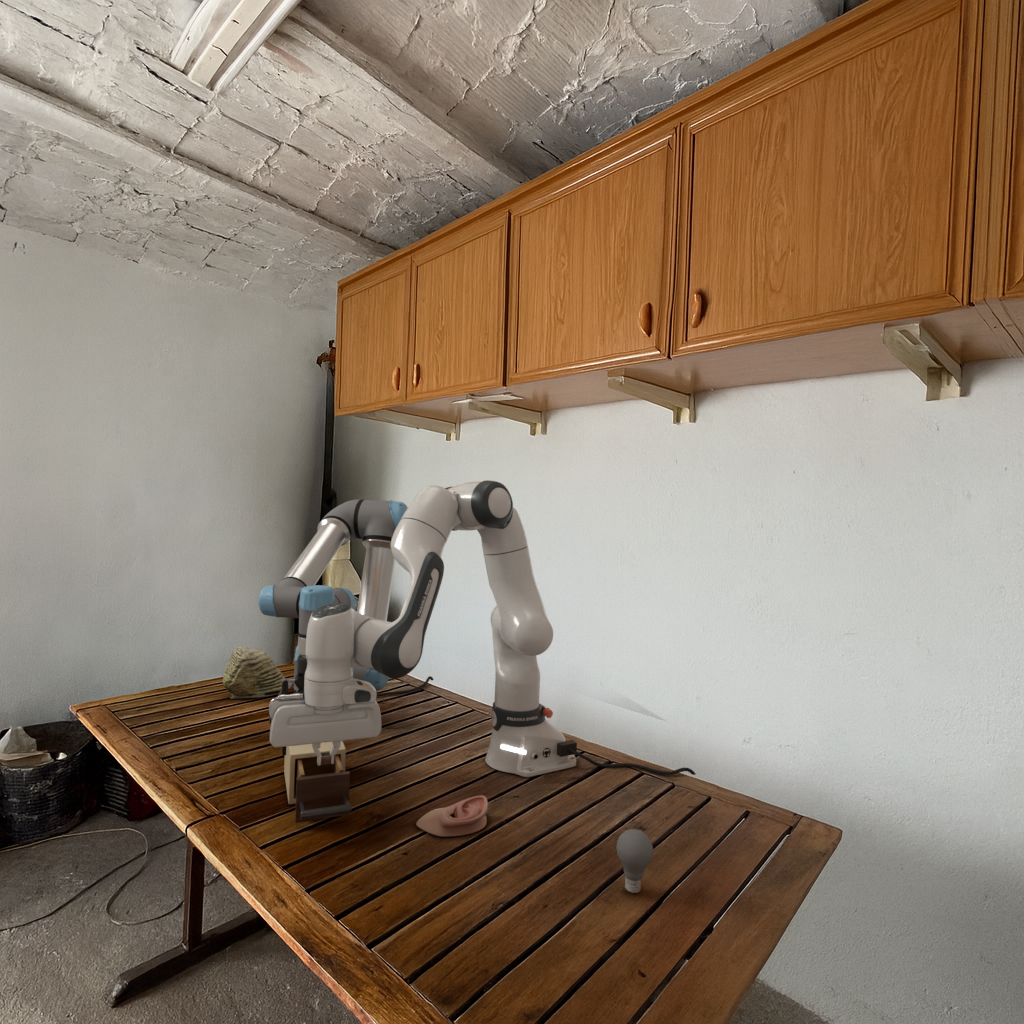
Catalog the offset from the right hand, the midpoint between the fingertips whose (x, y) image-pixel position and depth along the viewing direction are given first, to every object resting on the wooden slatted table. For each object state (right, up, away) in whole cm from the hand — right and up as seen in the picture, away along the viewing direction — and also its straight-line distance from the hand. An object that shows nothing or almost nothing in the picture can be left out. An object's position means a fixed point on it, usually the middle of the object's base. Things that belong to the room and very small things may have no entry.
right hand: (325, 763), depth 120 cm
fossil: (-45, -10, +78) cm, 91 cm away
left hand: (-10, -7, +24) cm, 27 cm away
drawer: (-3, -12, +7) cm, 14 cm away
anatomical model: (+24, -14, +5) cm, 28 cm away
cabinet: (-9, -12, +20) cm, 25 cm away
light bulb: (+55, -16, -14) cm, 59 cm away
